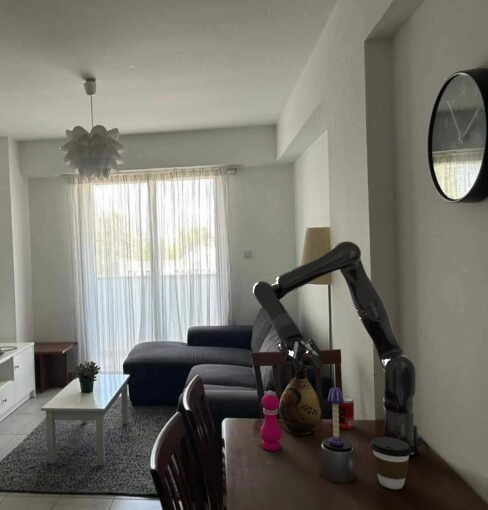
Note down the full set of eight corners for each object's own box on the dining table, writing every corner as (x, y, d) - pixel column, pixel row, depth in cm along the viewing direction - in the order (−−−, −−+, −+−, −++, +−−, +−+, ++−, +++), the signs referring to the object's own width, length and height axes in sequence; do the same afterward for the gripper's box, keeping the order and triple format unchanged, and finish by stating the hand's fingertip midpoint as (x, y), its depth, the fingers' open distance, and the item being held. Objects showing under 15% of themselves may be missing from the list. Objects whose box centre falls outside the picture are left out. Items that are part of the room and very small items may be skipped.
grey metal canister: (348, 469, 146) (347, 437, 146) (357, 483, 137) (357, 449, 137) (318, 468, 147) (318, 437, 147) (326, 482, 138) (325, 448, 138)
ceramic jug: (330, 435, 173) (328, 355, 173) (293, 440, 169) (291, 358, 169) (304, 420, 189) (302, 346, 189) (269, 424, 185) (268, 349, 185)
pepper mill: (279, 443, 167) (278, 387, 167) (283, 451, 160) (282, 393, 160) (259, 442, 168) (258, 387, 168) (262, 451, 160) (261, 393, 160)
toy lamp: (325, 440, 144) (324, 386, 144) (339, 439, 145) (339, 386, 145) (332, 446, 139) (332, 391, 139) (347, 445, 140) (346, 390, 140)
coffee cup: (411, 497, 129) (410, 454, 129) (368, 487, 135) (367, 446, 135) (413, 480, 138) (412, 440, 138) (372, 472, 144) (372, 433, 144)
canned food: (353, 423, 184) (352, 396, 184) (355, 430, 177) (354, 402, 177) (332, 421, 187) (332, 394, 187) (333, 428, 179) (333, 400, 179)
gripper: (274, 323, 157) (299, 364, 146) (307, 320, 163) (333, 360, 152) (265, 336, 162) (287, 377, 151) (297, 333, 167) (321, 372, 157)
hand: (310, 368), depth 152 cm, fingers open, 8 cm apart
